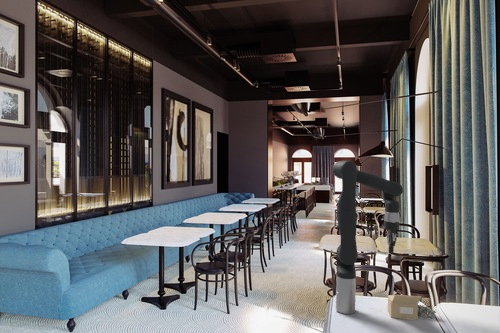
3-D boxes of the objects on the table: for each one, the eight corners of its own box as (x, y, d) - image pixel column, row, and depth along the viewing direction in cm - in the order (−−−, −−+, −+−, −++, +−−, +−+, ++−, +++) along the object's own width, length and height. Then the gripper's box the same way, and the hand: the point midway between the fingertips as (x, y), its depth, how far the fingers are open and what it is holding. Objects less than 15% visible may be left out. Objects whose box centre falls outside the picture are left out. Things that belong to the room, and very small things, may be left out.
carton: (391, 317, 178) (391, 301, 178) (387, 310, 187) (387, 294, 186) (417, 319, 176) (417, 303, 176) (412, 312, 185) (412, 296, 184)
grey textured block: (436, 320, 176) (437, 312, 176) (420, 319, 177) (420, 311, 177) (428, 311, 187) (428, 303, 187) (412, 310, 188) (413, 302, 188)
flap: (391, 301, 178) (392, 302, 178) (394, 294, 172) (395, 295, 172) (417, 303, 176) (417, 304, 176) (421, 296, 170) (421, 297, 170)
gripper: (382, 218, 202) (381, 249, 202) (386, 222, 189) (386, 255, 189) (396, 218, 201) (395, 250, 201) (402, 222, 188) (401, 256, 188)
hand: (391, 253), depth 195 cm, fingers closed
